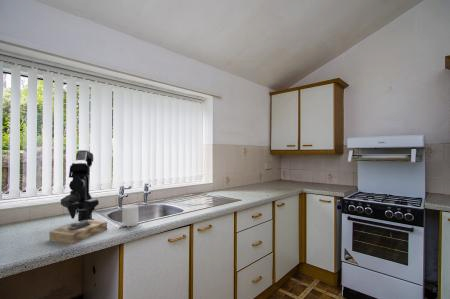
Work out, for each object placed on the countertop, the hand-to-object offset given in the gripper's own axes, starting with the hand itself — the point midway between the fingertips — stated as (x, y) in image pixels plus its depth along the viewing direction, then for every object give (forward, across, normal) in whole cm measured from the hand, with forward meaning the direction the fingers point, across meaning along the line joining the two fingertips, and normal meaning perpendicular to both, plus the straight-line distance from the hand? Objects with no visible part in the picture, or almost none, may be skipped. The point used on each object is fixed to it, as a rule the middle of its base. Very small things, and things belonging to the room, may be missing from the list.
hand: (79, 219), depth 118 cm
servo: (+8, 0, 0) cm, 8 cm away
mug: (+8, +12, +21) cm, 25 cm away
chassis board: (+8, 0, 0) cm, 8 cm away
